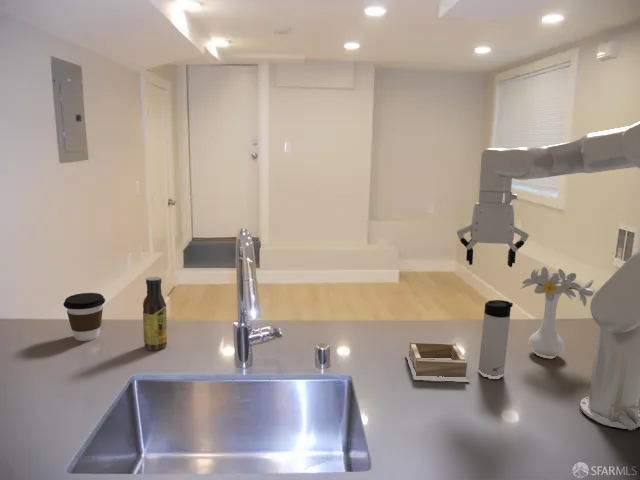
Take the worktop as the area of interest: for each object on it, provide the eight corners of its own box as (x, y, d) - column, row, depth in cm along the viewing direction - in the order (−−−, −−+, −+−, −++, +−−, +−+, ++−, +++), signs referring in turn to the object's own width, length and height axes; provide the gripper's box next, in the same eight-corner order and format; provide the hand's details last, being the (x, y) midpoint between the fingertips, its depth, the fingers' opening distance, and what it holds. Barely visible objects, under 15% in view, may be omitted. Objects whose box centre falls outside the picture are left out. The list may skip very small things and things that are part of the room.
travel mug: (500, 382, 127) (508, 306, 123) (474, 375, 130) (481, 301, 126) (508, 374, 131) (516, 300, 127) (483, 366, 135) (490, 295, 131)
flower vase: (590, 365, 138) (603, 277, 133) (523, 363, 138) (534, 275, 133) (567, 345, 151) (578, 264, 146) (506, 344, 151) (514, 263, 146)
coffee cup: (57, 341, 144) (54, 301, 142) (85, 328, 154) (82, 290, 152) (89, 346, 141) (86, 306, 138) (115, 333, 151) (113, 294, 149)
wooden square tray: (469, 382, 126) (471, 364, 125) (413, 380, 126) (414, 362, 125) (456, 358, 140) (457, 341, 139) (405, 356, 140) (406, 340, 139)
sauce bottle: (163, 351, 139) (160, 282, 135) (140, 351, 139) (137, 281, 135) (170, 342, 145) (168, 275, 141) (149, 341, 146) (146, 275, 142)
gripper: (528, 197, 128) (523, 263, 131) (457, 195, 132) (454, 260, 135) (534, 200, 121) (528, 270, 124) (459, 198, 124) (455, 266, 127)
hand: (489, 264), depth 129 cm, fingers open, 9 cm apart
